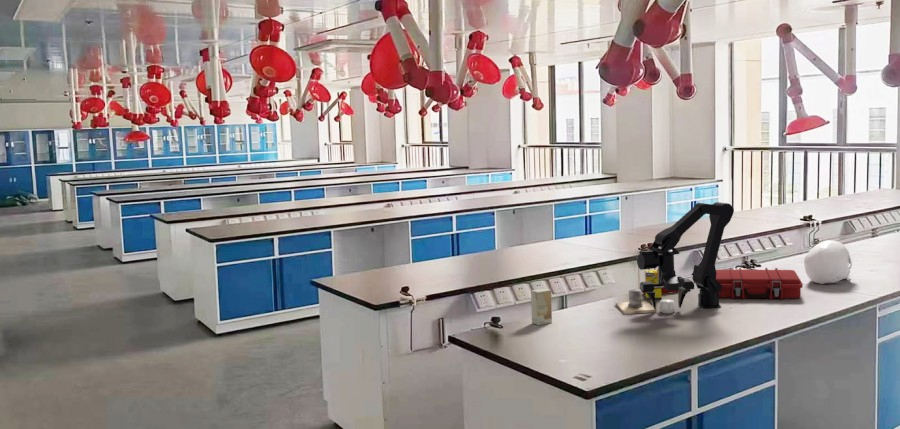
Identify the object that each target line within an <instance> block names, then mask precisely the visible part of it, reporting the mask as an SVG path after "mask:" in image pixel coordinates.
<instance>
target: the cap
mask: <svg viewBox="0 0 900 429" xmlns="http://www.w3.org/2000/svg"><path fill="white" fill-rule="evenodd" d="M675 310H676V307H675V300H673V299H659V312H660V313H661V312H662V313H661V314H673V312H674V313H675V312H676V311H675Z"/></svg>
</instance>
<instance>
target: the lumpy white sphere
mask: <svg viewBox="0 0 900 429" xmlns="http://www.w3.org/2000/svg"><path fill="white" fill-rule="evenodd" d="M851 258H852V257H851V255H850V251H849V250H848V249H847V247H846V246H845V245H844V244H843V243H842V242H841V241H838V240H833V239H829V240H823V241H821V242H819V243H817V244H816V245H814V246H813V247H812V248H811V249H809V251H808V252H807V253H806V254H805V256H804V260H803V266H804V269H805V270H804V271H805V273H806V275H807V277H808V279H810V281H812V282H813V283H816V284H820V285H823V284H836V283H838V282H840V281H841V280H846V281H850V279H851V277H850V274H851V269H852V266H853V261H852V259H851ZM849 265H850V266H849Z"/></svg>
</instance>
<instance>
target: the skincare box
mask: <svg viewBox="0 0 900 429" xmlns="http://www.w3.org/2000/svg"><path fill="white" fill-rule="evenodd" d="M530 298H531V299H530V300H531V302H530V303H531V304H530V305H531V306H530V308H531V323H532V324H534V325H537V326H540V325H541V326H542V325H547V324H551V323H552V322H553V318H552V317H553V316H552V315H553V312H552V289H549V288H536V289H533V290H530Z"/></svg>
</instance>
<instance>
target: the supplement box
mask: <svg viewBox="0 0 900 429" xmlns="http://www.w3.org/2000/svg"><path fill="white" fill-rule="evenodd" d="M648 281H650V282H652V283H653V284H657V283H659V282H658V269H644V282H648ZM653 291H654V292H655V300H663V299H662V293H661V288H659V289H654V290H653ZM645 299H646V301H647V300H648V301H649V300H650V298H649V296H648V294H646V293H645ZM650 301H651V300H650Z"/></svg>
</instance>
